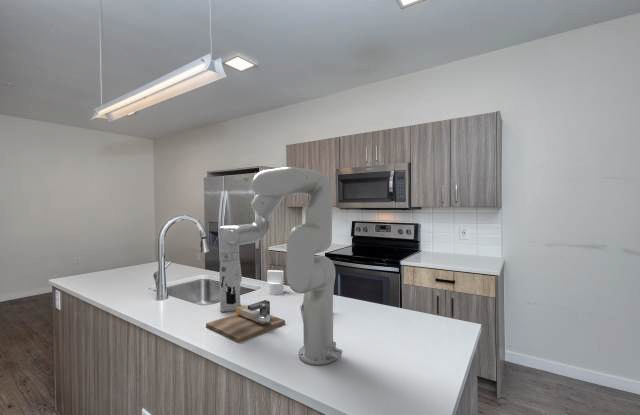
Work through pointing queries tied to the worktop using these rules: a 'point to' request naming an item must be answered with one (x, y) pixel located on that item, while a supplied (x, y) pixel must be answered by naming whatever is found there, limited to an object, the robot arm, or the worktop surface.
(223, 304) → the supplement box
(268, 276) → the cylinder with rectangular tab
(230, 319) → the board
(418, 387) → the worktop surface
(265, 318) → the link
